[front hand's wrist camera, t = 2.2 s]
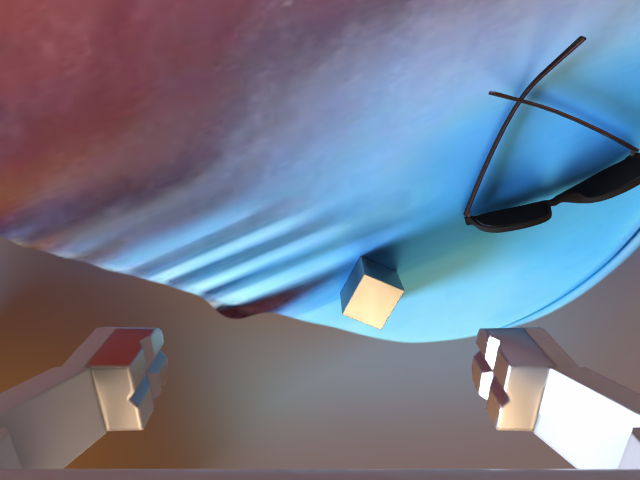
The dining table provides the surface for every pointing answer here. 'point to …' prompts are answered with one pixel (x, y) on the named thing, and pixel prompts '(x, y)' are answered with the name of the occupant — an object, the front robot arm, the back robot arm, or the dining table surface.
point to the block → (371, 293)
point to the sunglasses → (589, 191)
